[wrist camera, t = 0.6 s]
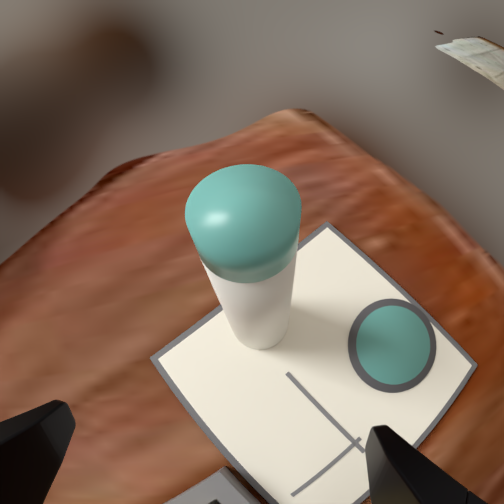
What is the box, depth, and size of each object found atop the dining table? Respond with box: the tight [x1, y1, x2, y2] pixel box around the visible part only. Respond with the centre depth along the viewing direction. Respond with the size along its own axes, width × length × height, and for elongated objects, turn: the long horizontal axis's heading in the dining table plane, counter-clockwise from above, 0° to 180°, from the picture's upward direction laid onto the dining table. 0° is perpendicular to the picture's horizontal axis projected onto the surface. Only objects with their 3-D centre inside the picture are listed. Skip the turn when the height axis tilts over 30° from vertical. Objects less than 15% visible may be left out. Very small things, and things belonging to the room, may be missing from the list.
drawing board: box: [150, 221, 477, 504], centre depth 19 cm, size 18×18×1 cm
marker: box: [185, 164, 301, 350], centre depth 16 cm, size 4×4×13 cm
